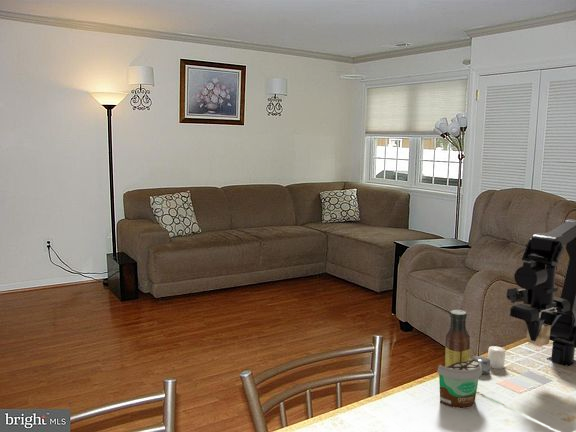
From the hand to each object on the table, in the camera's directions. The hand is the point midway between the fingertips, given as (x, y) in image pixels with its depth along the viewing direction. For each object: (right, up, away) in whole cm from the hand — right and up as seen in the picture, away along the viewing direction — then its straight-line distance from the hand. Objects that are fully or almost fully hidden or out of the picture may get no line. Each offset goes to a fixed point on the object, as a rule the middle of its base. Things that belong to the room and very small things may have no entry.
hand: (537, 339), depth 141 cm
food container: (-24, -13, -12) cm, 30 cm away
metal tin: (-14, -11, +5) cm, 18 cm away
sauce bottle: (-22, -12, -1) cm, 25 cm away
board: (-4, -12, -1) cm, 12 cm away
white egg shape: (-8, -10, +9) cm, 16 cm away
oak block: (0, -1, 0) cm, 1 cm away
